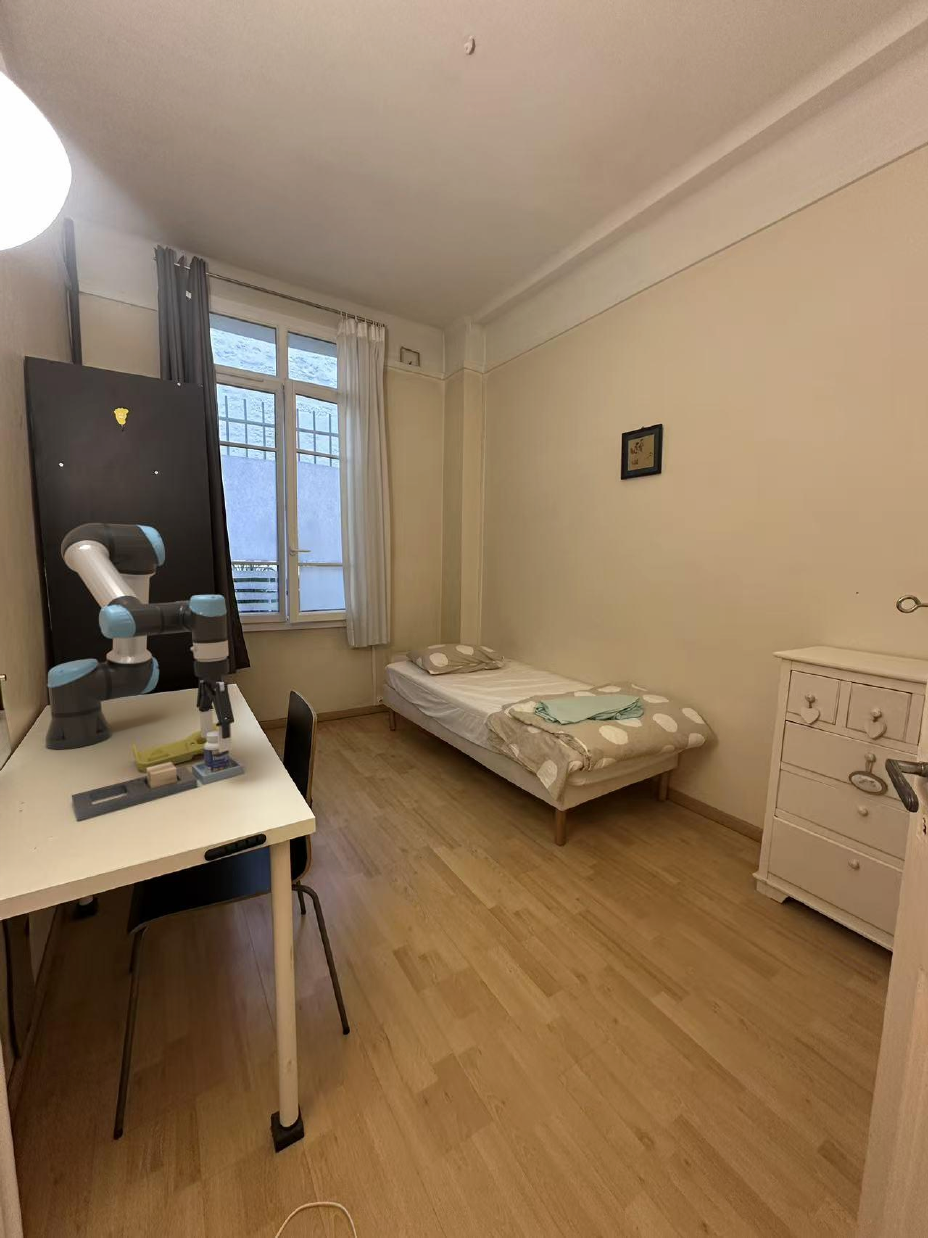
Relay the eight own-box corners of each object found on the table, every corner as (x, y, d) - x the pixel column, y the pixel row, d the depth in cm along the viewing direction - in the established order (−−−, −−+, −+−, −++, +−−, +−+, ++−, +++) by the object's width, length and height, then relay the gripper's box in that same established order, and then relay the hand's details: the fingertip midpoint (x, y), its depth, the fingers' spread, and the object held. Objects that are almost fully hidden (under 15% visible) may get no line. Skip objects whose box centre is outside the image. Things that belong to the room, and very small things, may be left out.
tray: (192, 772, 121) (191, 765, 121) (230, 762, 127) (230, 755, 127) (203, 784, 115) (203, 776, 114) (243, 773, 121) (243, 765, 121)
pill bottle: (213, 777, 117) (211, 738, 116) (200, 772, 120) (198, 734, 119) (234, 769, 122) (232, 732, 121) (221, 764, 125) (219, 728, 124)
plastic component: (138, 766, 120) (131, 739, 126) (140, 787, 123) (134, 760, 129) (224, 742, 132) (214, 719, 138) (224, 761, 135) (215, 738, 142)
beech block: (147, 788, 113) (146, 767, 112) (172, 782, 116) (171, 762, 116) (152, 795, 109) (150, 774, 109) (177, 789, 113) (176, 768, 112)
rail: (72, 804, 105) (71, 795, 105) (185, 774, 120) (184, 766, 120) (77, 821, 98) (77, 812, 98) (197, 787, 113) (196, 779, 113)
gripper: (179, 653, 124) (185, 734, 126) (210, 668, 106) (216, 761, 109) (211, 650, 129) (216, 727, 132) (246, 663, 111) (250, 752, 114)
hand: (216, 743), depth 120 cm, fingers open, 13 cm apart
